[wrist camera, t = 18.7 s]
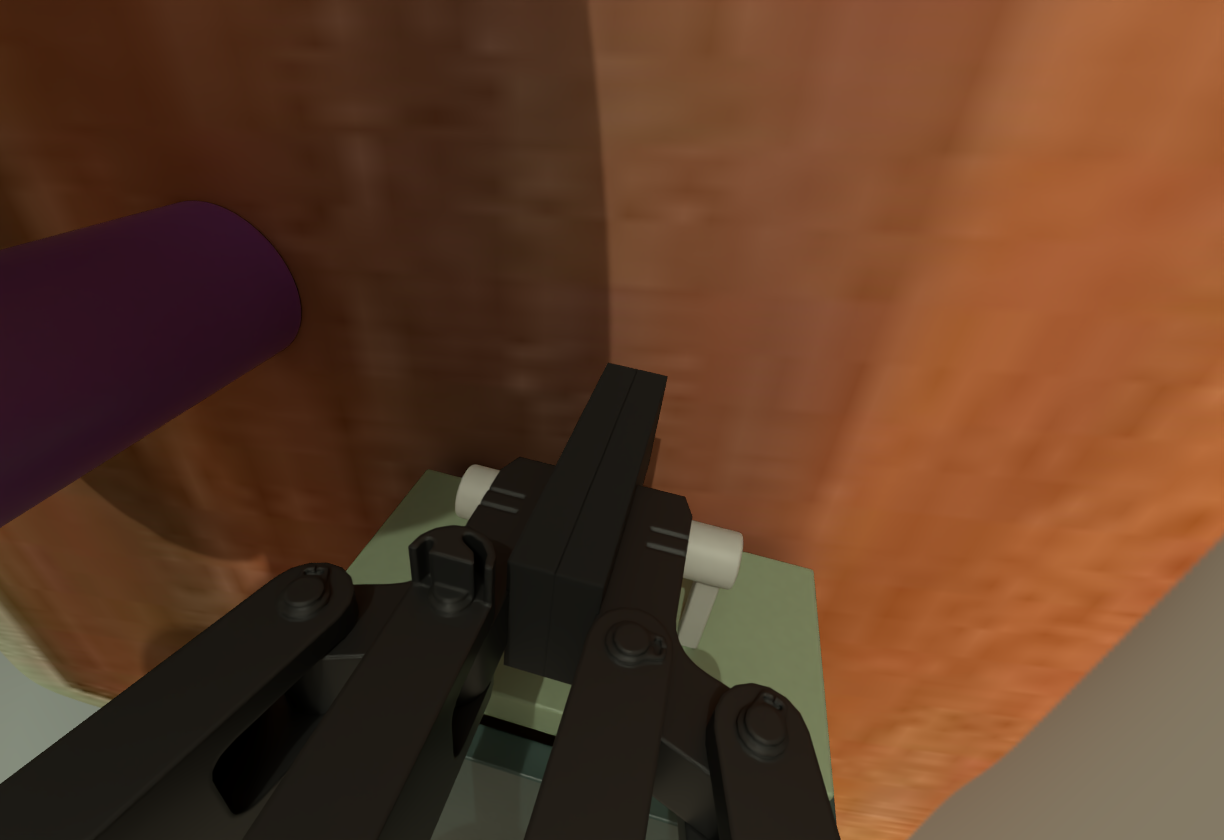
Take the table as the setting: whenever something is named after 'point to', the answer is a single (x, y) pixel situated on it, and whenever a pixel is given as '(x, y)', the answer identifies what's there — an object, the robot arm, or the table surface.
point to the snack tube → (127, 335)
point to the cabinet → (513, 792)
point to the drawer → (706, 619)
